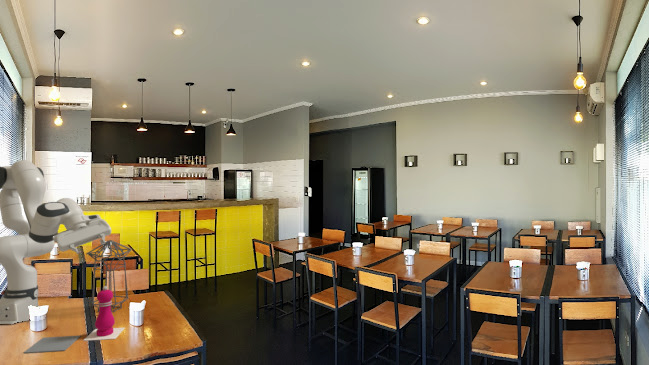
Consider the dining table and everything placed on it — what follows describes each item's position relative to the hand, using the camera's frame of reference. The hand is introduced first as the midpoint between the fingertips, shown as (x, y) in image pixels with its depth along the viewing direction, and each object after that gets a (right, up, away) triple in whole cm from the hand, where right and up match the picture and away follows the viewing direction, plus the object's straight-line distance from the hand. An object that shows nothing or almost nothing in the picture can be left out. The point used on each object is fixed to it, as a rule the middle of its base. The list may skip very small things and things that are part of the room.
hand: (91, 247), depth 165 cm
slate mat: (-10, -36, -9) cm, 39 cm away
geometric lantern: (-10, -36, +31) cm, 49 cm away
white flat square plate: (+5, -37, +1) cm, 37 cm away
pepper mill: (+5, -36, +1) cm, 37 cm away
